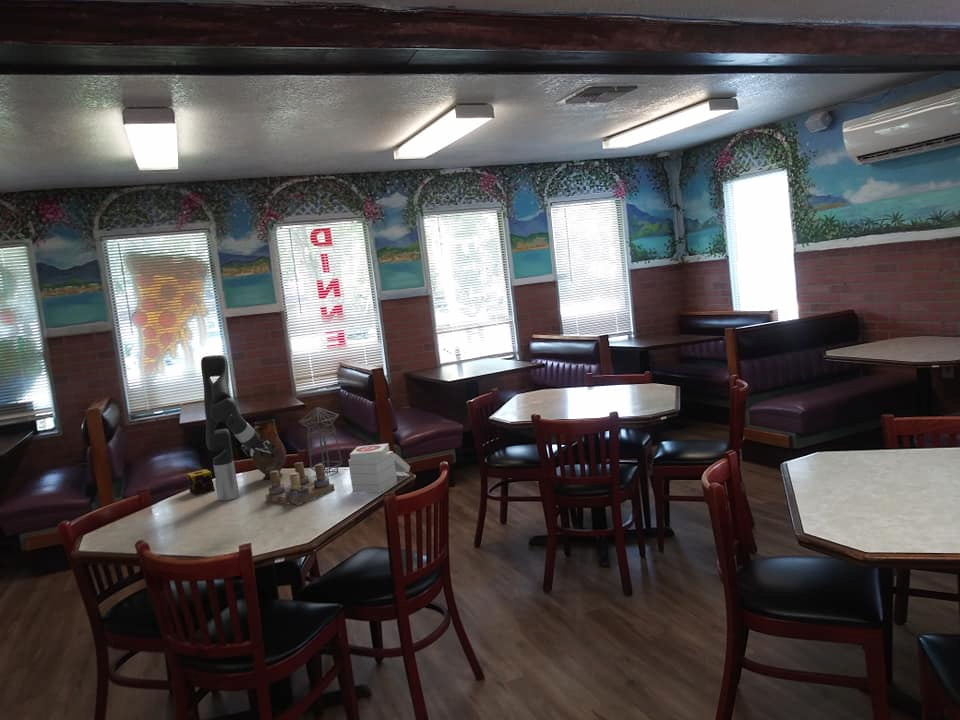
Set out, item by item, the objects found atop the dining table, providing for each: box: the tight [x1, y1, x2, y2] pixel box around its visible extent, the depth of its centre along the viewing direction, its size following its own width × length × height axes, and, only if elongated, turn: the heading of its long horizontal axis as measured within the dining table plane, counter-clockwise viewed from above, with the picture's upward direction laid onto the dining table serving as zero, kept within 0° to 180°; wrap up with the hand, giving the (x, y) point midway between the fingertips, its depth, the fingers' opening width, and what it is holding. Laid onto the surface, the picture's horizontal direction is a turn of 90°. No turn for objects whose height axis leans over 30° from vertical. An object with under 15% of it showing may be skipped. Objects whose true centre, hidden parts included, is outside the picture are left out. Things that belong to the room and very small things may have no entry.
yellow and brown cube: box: [186, 468, 216, 497], centre depth 367 cm, size 10×10×10 cm
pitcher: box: [252, 418, 287, 481], centre depth 375 cm, size 17×21×30 cm
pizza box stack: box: [347, 443, 411, 493], centre depth 342 cm, size 19×30×18 cm, turn 155°
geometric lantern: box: [298, 406, 343, 477], centre depth 370 cm, size 16×16×35 cm
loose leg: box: [289, 472, 301, 491], centre depth 327 cm, size 4×4×10 cm
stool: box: [265, 461, 335, 506], centre depth 337 cm, size 22×22×13 cm
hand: (267, 458), depth 320 cm, fingers open, 8 cm apart
